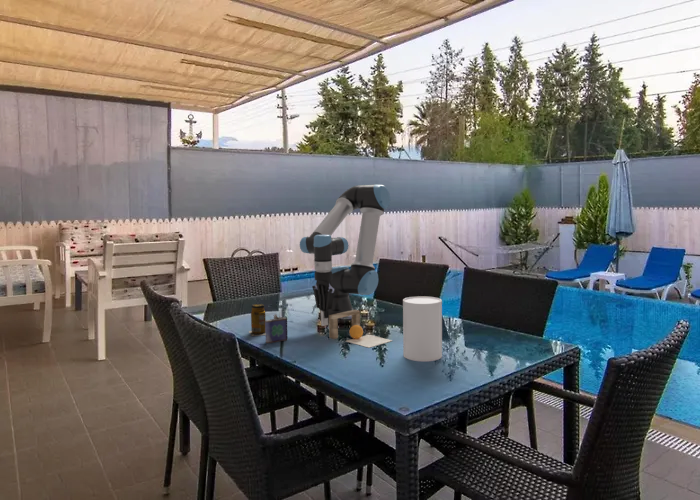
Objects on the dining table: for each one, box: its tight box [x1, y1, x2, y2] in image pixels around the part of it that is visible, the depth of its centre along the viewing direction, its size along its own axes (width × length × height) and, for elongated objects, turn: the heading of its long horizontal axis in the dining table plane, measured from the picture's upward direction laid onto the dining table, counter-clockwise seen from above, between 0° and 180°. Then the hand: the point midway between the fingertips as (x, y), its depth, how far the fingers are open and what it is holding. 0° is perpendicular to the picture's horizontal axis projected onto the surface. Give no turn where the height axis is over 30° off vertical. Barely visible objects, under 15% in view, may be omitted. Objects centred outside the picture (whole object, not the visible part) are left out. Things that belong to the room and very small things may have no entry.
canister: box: [402, 295, 443, 362], centre depth 184 cm, size 14×14×20 cm
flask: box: [265, 313, 288, 344], centre depth 207 cm, size 9×3×11 cm, turn 121°
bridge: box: [328, 309, 361, 340], centre depth 215 cm, size 3×14×9 cm, turn 133°
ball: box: [348, 325, 364, 339], centre depth 209 cm, size 6×6×6 cm
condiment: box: [248, 303, 267, 337], centre depth 220 cm, size 7×8×12 cm
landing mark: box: [345, 334, 393, 349], centre depth 205 cm, size 13×13×1 cm
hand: (324, 325), depth 224 cm, fingers closed
